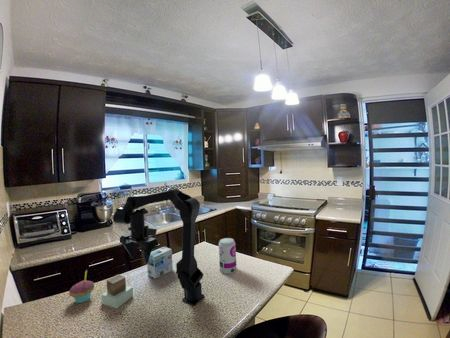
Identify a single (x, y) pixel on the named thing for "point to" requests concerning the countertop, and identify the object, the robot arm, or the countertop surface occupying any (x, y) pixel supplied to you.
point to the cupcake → (82, 290)
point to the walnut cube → (116, 285)
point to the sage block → (117, 297)
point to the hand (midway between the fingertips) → (139, 260)
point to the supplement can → (227, 255)
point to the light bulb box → (160, 262)
